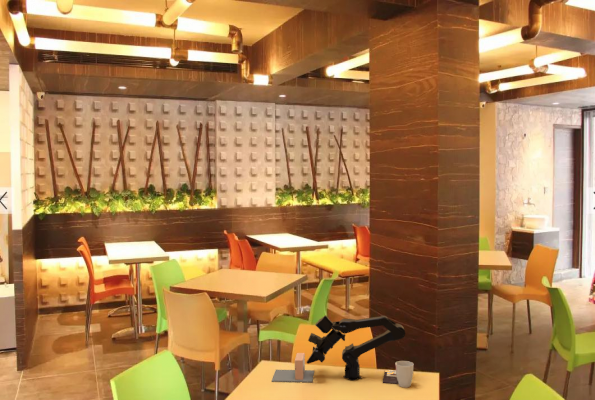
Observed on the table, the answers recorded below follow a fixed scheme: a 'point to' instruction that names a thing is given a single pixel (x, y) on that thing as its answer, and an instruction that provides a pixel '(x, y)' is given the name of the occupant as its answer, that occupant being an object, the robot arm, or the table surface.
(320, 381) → the table surface
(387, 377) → the chocolate bar
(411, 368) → the cup
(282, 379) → the mat
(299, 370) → the salmon pink block
